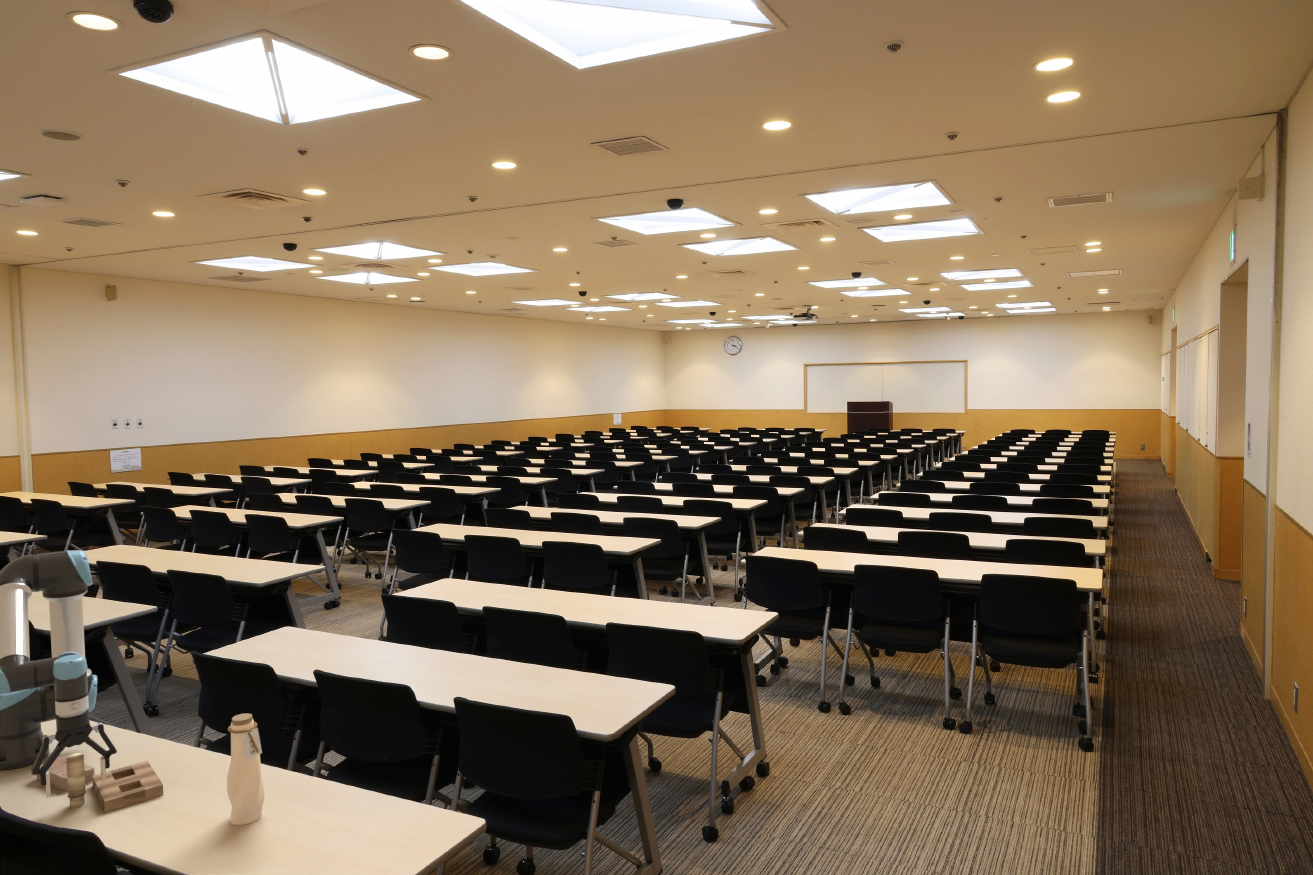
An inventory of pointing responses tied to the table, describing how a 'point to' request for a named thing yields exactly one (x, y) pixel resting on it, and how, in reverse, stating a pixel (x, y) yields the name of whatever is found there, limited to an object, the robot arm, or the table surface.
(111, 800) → the board
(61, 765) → the brick
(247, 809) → the water bottle
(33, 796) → the table surface
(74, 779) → the peg
